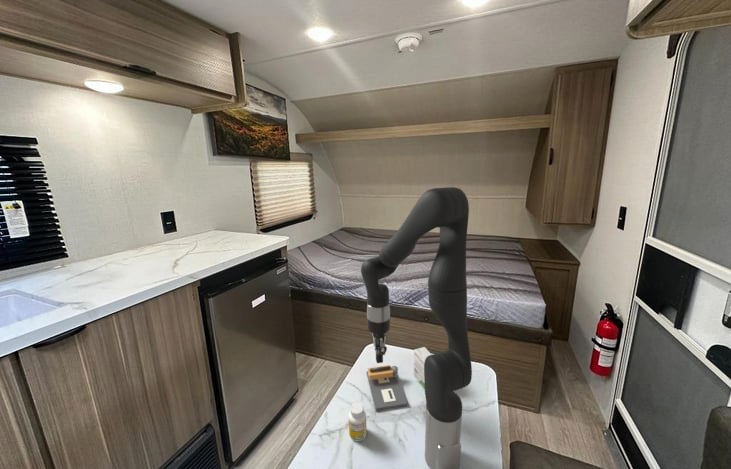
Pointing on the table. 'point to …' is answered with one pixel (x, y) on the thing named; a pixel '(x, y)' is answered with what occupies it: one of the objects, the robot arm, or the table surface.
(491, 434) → the table surface
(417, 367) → the ink box
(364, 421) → the supplement bottle
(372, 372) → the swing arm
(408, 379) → the table surface
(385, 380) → the tray
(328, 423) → the table surface
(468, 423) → the table surface
